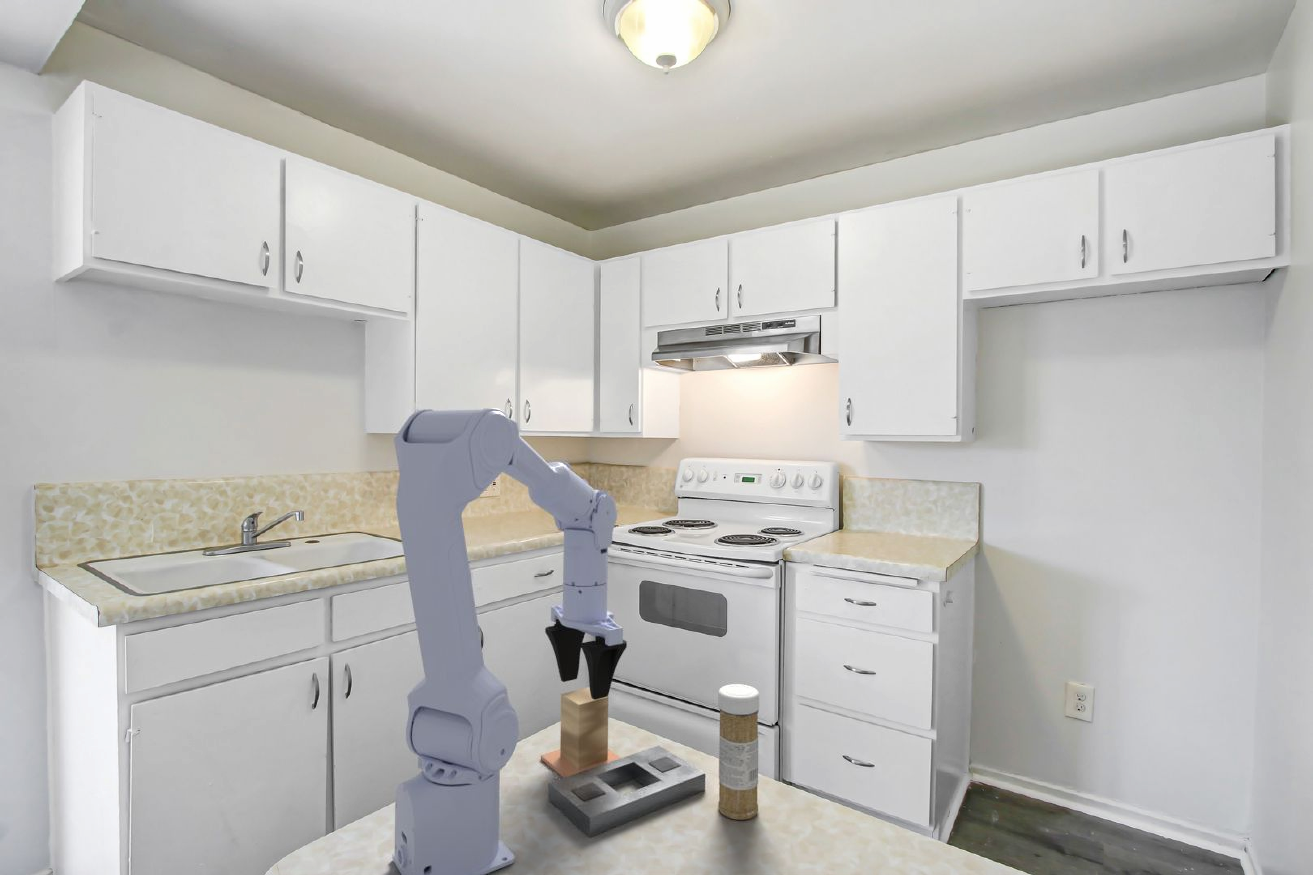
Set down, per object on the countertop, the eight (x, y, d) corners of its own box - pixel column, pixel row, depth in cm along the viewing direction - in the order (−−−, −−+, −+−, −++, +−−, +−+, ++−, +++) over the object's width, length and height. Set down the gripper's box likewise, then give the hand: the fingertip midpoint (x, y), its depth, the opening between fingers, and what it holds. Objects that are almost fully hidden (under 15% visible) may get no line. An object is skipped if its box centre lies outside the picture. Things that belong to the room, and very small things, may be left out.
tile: (572, 784, 79) (572, 780, 79) (540, 759, 86) (540, 755, 86) (626, 765, 84) (626, 761, 84) (593, 742, 90) (593, 739, 90)
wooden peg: (578, 769, 82) (578, 704, 82) (560, 756, 85) (561, 694, 85) (607, 759, 85) (608, 696, 85) (589, 747, 88) (589, 686, 88)
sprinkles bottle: (737, 795, 77) (738, 679, 77) (767, 812, 74) (767, 690, 74) (709, 808, 74) (709, 688, 74) (738, 826, 71) (739, 700, 71)
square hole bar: (589, 837, 68) (590, 816, 69) (548, 800, 76) (548, 781, 76) (705, 789, 78) (705, 772, 78) (658, 761, 85) (658, 744, 85)
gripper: (643, 588, 82) (642, 698, 82) (582, 570, 93) (581, 667, 93) (595, 595, 78) (593, 711, 77) (537, 575, 89) (536, 677, 89)
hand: (583, 688), depth 85 cm, fingers open, 7 cm apart
